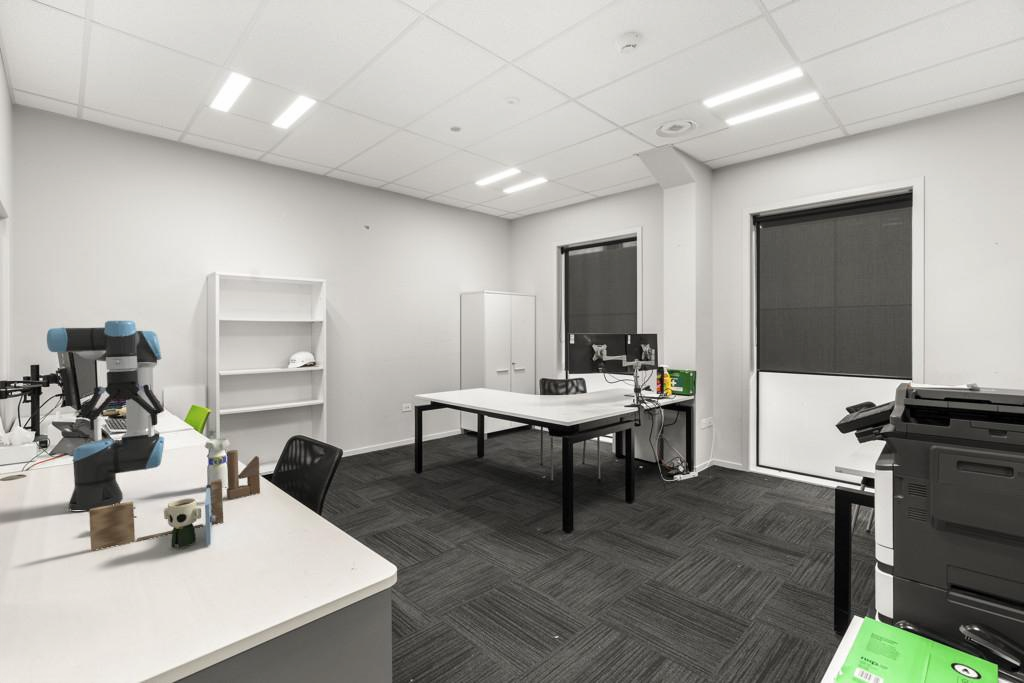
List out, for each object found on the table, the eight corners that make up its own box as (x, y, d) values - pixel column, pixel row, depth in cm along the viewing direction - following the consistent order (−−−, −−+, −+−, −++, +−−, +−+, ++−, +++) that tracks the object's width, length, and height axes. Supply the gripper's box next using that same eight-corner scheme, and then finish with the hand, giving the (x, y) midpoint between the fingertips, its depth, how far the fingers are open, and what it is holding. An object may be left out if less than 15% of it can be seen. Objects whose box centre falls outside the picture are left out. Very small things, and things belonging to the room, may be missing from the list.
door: (208, 524, 157) (206, 488, 157) (216, 523, 158) (215, 487, 158) (206, 545, 142) (204, 505, 142) (216, 543, 143) (214, 503, 143)
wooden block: (260, 493, 188) (258, 447, 188) (229, 500, 181) (227, 452, 180) (257, 490, 191) (255, 445, 190) (226, 497, 184) (225, 451, 183)
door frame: (91, 551, 140) (88, 504, 140) (92, 548, 142) (89, 501, 142) (223, 522, 160) (221, 480, 159) (222, 520, 162) (221, 479, 161)
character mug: (156, 551, 140) (155, 506, 139) (174, 540, 147) (172, 498, 147) (194, 550, 140) (192, 506, 139) (209, 539, 147) (208, 497, 146)
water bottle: (232, 488, 195) (229, 426, 194) (207, 492, 190) (204, 429, 189) (230, 482, 202) (228, 423, 201) (206, 486, 197) (203, 426, 196)
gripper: (65, 373, 142) (68, 444, 143) (166, 369, 151) (169, 436, 151) (77, 371, 149) (81, 439, 150) (173, 367, 158) (176, 431, 158)
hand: (125, 438), depth 151 cm, fingers open, 13 cm apart
